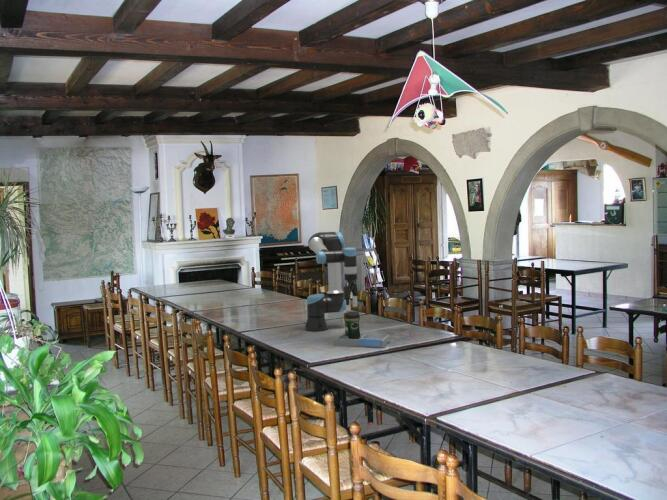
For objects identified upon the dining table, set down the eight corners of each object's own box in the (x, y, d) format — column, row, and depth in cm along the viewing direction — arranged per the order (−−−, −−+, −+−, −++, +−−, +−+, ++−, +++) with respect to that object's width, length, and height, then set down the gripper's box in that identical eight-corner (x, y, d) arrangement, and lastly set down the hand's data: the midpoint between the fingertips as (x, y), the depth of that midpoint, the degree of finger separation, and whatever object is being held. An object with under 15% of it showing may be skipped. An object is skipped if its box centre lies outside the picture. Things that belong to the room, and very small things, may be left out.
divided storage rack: (343, 339, 403) (342, 331, 402) (390, 341, 393) (390, 333, 392) (333, 345, 386) (333, 337, 386) (383, 348, 376) (383, 340, 376)
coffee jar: (356, 340, 400) (356, 310, 398) (362, 342, 392) (361, 312, 391) (342, 341, 396) (341, 311, 394) (348, 344, 388) (347, 313, 387)
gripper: (351, 271, 404) (352, 305, 405) (338, 275, 380) (339, 311, 382) (362, 271, 401) (363, 305, 403) (350, 275, 378) (351, 312, 379)
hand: (351, 308), depth 392 cm, fingers open, 13 cm apart
